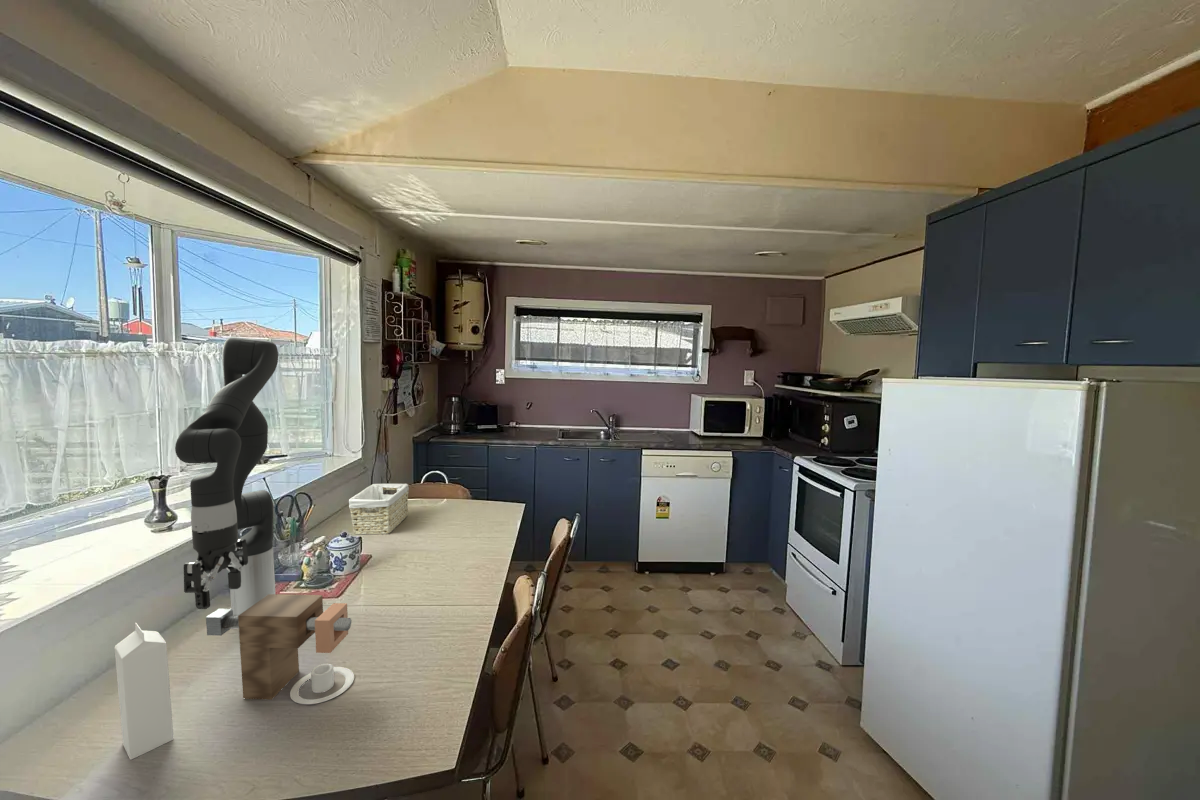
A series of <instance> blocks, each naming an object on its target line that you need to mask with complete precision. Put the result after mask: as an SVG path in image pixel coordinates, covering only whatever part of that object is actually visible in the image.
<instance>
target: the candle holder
mask: <svg viewBox="0 0 1200 800" xmlns="http://www.w3.org/2000/svg"><path fill="white" fill-rule="evenodd" d="M334 674H340V675H342V676H343V677H344V679H345V681H344V683H343V686H342V687H340V688H339V689H338V690H337V691H335V692H333V693H331V694H330V695H327V696H324V697H320V698H316V699H315V698H314V699H308V698H307V699H306V698H304V697H302V696H301V695H300V690H299V688H300V686H301V685H302V684H303V683H304V682H305V681H307V680H308V681H311V682H310V683H311V691H312V692H313V693H315V694H321V692H322V693H325V692H328V691H329V690H330V689H332V688H333V687H334V685H335V675H334ZM309 679H310V680H309ZM354 679H355V675H354V672H353V670H352V669H349V668H347V667H343V666H334V665H333V664H332V663H322V664H318V665H317V666H315V667H314V668H313V669H312V670H311V671H310V673H308V674H306V675H304V676H303V677H301V678H299V680H297V681H296V682H295V683H294V684H293V686H292V687H291V689H290V691H289V695H290V699H291V701H293V702H295V703H296V704H299V705H314V704H320V703H325V702H327V701H331V700H332V699H334V698H336V697H338V696H339V695H341V694H342V693H344V692H345V691H347V690H348V689H349V688H350V687H351V686H352V684H353V682H354ZM308 681H307V682H308ZM304 684H305V683H304ZM304 684H303V685H304ZM303 685H302V686H303ZM300 689H301V688H300ZM298 690H299V691H298ZM324 691H325V692H324ZM299 695H300V696H299Z"/></svg>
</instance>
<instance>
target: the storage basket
mask: <svg viewBox="0 0 1200 800" xmlns="http://www.w3.org/2000/svg"><path fill="white" fill-rule="evenodd" d="M409 490H410V488H409V484H408V483H373V484H371V485H369V486H367V487H366V488H364V489H363V490H361V491H360V492H359V493H356V494H355V495H354V496H352V497H351V498H349V499H348V507H349V511H350V519H351V523H352V530H353V534H354V535H386V534H387V535H388V534H391V533H392V532H393V531H394V530H395V529H396V528H397V527H398V526H399V525H400V524H401V523H402V522H403V521H404V520H405V519H406V518H407V517H408V505H409V504H408V503H409ZM384 491H396V492H395V493H394V494H387V493H386V494H384Z"/></svg>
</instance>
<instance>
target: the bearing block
mask: <svg viewBox="0 0 1200 800" xmlns="http://www.w3.org/2000/svg"><path fill="white" fill-rule="evenodd" d="M323 603H324V602H323V595H322V594H281V593H279V594H276V593H275V594H268V595H267V596H265V597H264V598H262V599H261V600H260V601H258V602H257V603H255V604H254V605H253V606H251V607H250V608H248V609H247V610H246V611H244V612H243V613H241V614H240V615H239V616H238V622H239V629H238V635H239V636H238V638H239V652H240V653H239V654H240V666H241V667H240V668H241V670H240V671H241V684H242V685H241V686H242V699H243V698H245V699H244V700H265V699H266V701H268V700H271V701H273V699H275V697H276V696H277V695H279V693H280V692H281V691H282V690H283V689H284V688H285V687H286V686H287V685H288V684H289V683H290V682H291V681H292V680H291V679H294V678H295V676H297V675H298V674H299V673H300V663H299V662H300V657H299V648H300V647H301V646H302V645H303V644H304V643H306V642H307V641H308V640H309V639H310V638H311V636H313V635H315V630H306V620H307V619H308V618H309V617H319V616H320V615H321V614H322V613H323V612H324V604H323ZM290 680H291V681H290ZM289 681H290V682H289ZM288 682H289V683H288ZM287 683H288V684H287ZM286 684H287V685H286ZM285 685H286V686H285ZM282 688H283V689H282ZM281 689H282V690H281Z"/></svg>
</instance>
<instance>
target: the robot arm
mask: <svg viewBox="0 0 1200 800" xmlns="http://www.w3.org/2000/svg"><path fill="white" fill-rule="evenodd" d="M278 350H279V349H278V347H277V344H275V342H273V341H271V340H265V339H257V338H249V337H248V338H247V337H240V336H239V337H238V336H236V337H235V336H230V337H227V339H226V340H225V341H224V344H223V347H222V353H221V354H222V356H221V359H222V361H221V362H222V372H223V373H222V374H223V383H224V384H223V387H221V388H220V389H219V390H218V391H216V392H215V394H214V395H213V396H212V397H211V400H210V401H209V402H208V404H207V406H206V408H205V410H204V412H203V413H202V414H201V415H199V416H198V417H197V418H196V419H195V420H193V421H192V422H191V423H189V424H188V426H186V427H185V428H184V429H183V430H182V431H181V432H180V434H179V435H178V438H177V439H176V441H175V446H174V451H175V455H176V457H177V458H178V459H179V461H181V462H183V463H185V464H191V465H193V464H194V465H195V464H197V465H198V464H213V463H215V464H216V468H215V470H214V471H211V472H207V473H202V474H200V475H196V476H194V477H193V478H192V479H191V480H190V485H189V487H190V488H189V489H190V499H191V500H190V501H191V502H190V503H191V504H190V505H191V510H190V524H191V525H190V526H191V537H192V538H191V539H192V548H193V550H194V551H196V553H197V559H196V560H194V561H193V562H191V561H190V562H185V563H184V564H183V592H184V594H185V593H186V594H188V593H189V594H190V593H191V594H193V593H194V599H195V602H194V603H195V607H196V608H197V610H207V609H209V608H210V607H211V596H210V586H211V583H212V581H214V580H215V579H216V578H217V577H216V576H217V574H219V573H220V572H222V571H223V570H225V569H226V570H227V571H228V572H227V581H228V588H229V592H230V595H229V596H230V609H233V616H239V615H240V614H241V613H243V612H244V611H246V610H247V609H248V608H250V607H251V606H253V605H254V604H255V603H257V602H258V601H260V600H261V599H262V598H264V597H265V596H267V595H268V594H276V579H275V578H276V577H275V559H274V542H273V541H274V502H273V498H272V495H271V494H270V492H269V491H267V489H266V490H265V489H260V490H255V491H248V492H244V493H243V490H244V486H245V483H246V482H247V478H248V477H249V475H250V474H251V472H252V471H253V470H254V468H255V467H256V466H257V464H259V462H260V461H261V459H262V458H263V456H264V455H265V453H266V451H267V448H268V438H269V436H268V434H269V425H268V421H267V419H266V417H265V416H264V414H263V412H262V410H260V409H259V407H258V406H257V405H256V403H255V402H254V400H255V398H256V396H258V394H259V393H260V392H261V390H262V389H263V388H264V387H265V385H266V384H267V383H268V382H269V380H270V379H271V377H272V376H273V374H274V373H275V372H276V369H277V366H278V363H279V351H278ZM250 527H252V528H251V529H250V530H249V531H248V532H247V533H245V534H244V535H242V536H241V537H239V533H238V532H239V531H238V530H243V529H246V528H250ZM204 573H206V574H204ZM203 581H204V582H203ZM192 582H193V585H192ZM202 582H203V584H202Z"/></svg>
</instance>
